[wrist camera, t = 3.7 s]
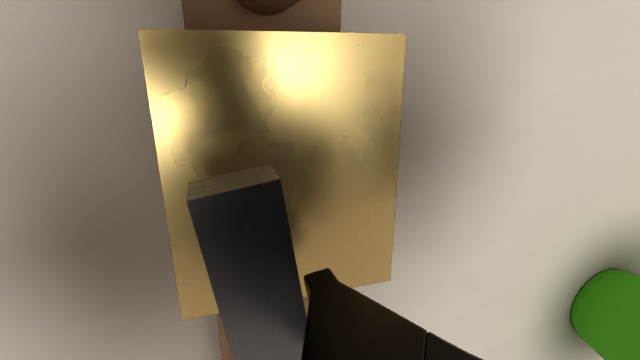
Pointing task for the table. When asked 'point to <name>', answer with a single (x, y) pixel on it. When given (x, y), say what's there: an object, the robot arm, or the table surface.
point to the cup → (610, 315)
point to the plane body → (261, 15)
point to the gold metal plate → (281, 140)
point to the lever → (250, 262)
